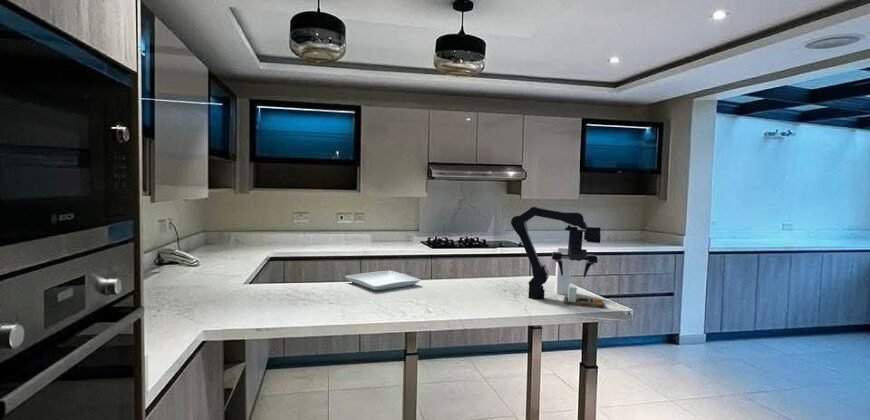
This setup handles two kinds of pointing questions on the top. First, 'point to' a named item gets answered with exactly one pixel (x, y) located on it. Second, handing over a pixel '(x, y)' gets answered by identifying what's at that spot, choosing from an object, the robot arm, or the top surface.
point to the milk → (563, 281)
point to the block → (572, 293)
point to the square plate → (382, 280)
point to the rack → (585, 302)
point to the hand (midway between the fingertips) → (573, 276)
